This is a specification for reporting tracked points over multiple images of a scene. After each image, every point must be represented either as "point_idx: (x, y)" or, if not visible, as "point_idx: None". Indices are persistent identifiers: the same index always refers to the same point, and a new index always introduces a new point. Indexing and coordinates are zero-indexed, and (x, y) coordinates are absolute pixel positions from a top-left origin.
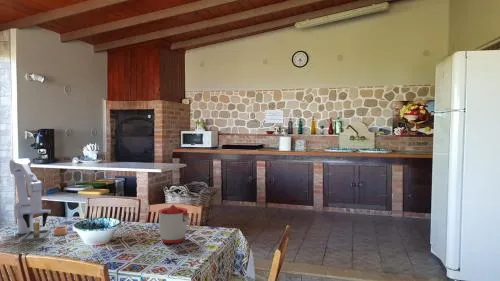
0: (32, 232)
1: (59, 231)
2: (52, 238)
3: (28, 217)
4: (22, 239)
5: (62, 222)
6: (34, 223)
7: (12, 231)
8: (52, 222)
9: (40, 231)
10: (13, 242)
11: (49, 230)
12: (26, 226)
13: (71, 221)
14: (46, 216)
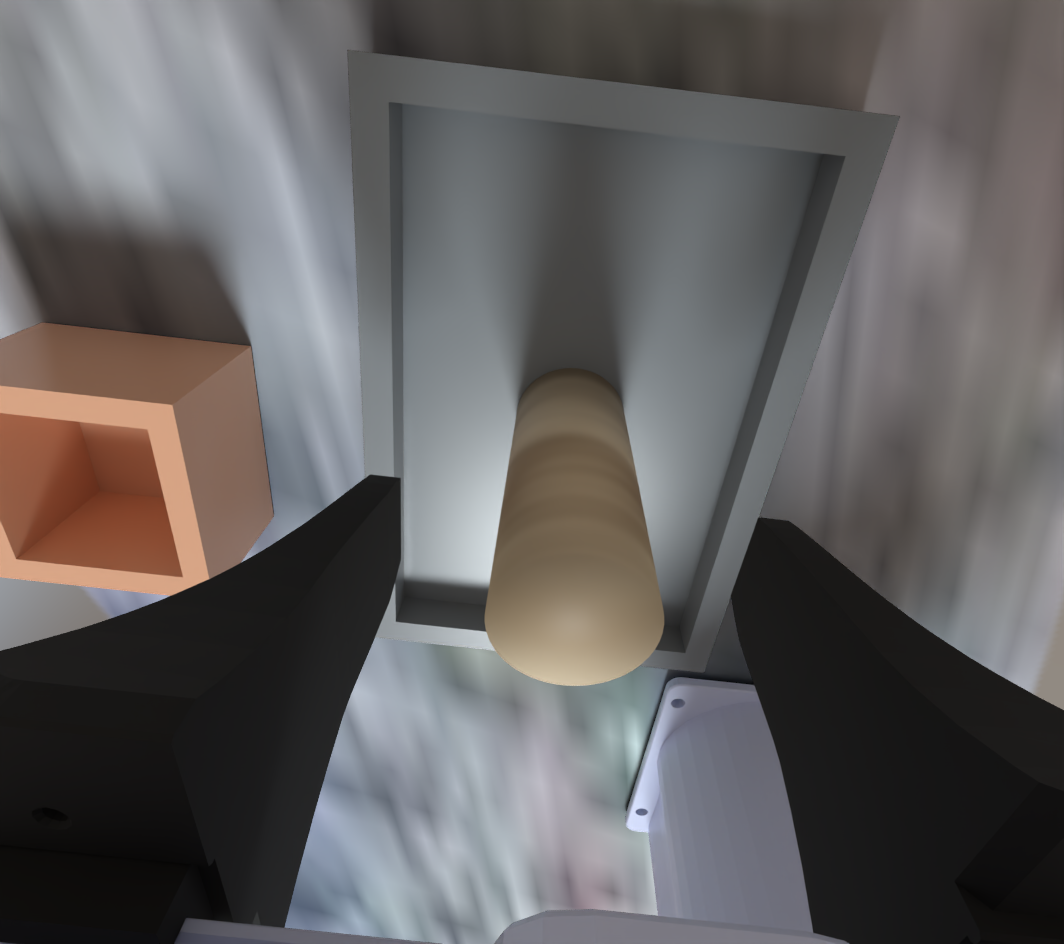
0: None
1: (87, 366)
2: (236, 198)
3: (883, 832)
4: (868, 114)
5: (346, 911)
6: (620, 557)
7: None
8: (459, 940)
9: None
10: (1003, 228)
11: None
12: (761, 792)
13: None
14: (27, 644)
